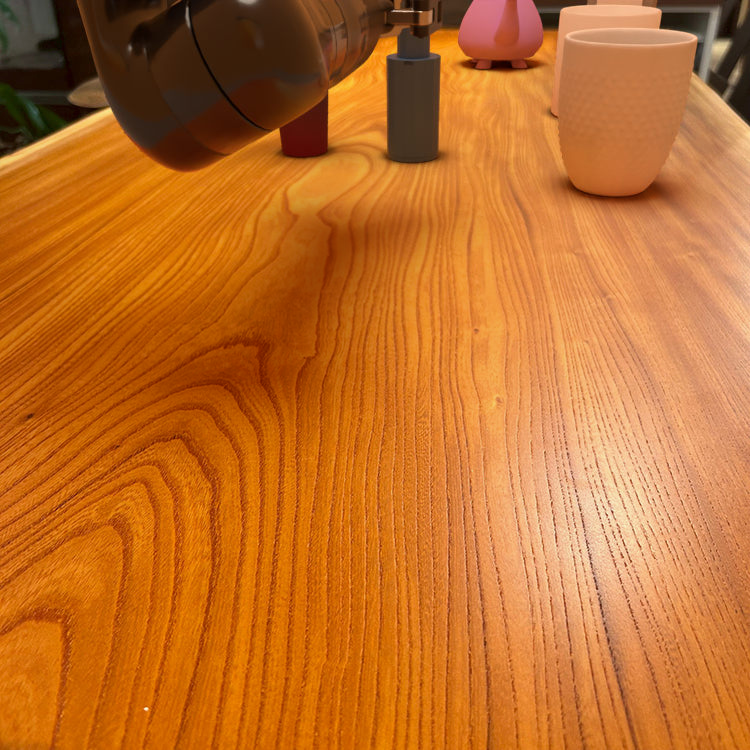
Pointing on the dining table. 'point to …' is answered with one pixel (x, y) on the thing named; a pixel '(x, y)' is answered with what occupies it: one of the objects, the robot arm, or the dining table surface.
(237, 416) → the dining table surface
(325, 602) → the dining table surface
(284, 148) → the cup
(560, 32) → the cup
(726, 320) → the dining table surface
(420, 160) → the bottle
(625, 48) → the mug
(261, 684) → the dining table surface
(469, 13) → the teapot
